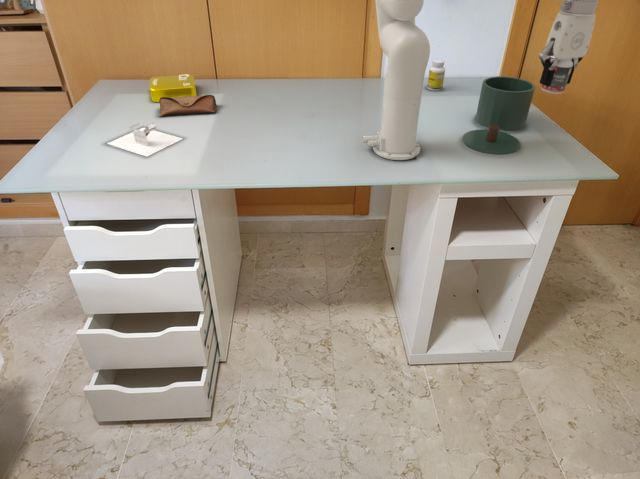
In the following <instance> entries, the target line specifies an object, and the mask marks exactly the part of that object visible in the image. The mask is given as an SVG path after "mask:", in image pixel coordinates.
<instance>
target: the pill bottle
mask: <svg viewBox="0 0 640 479" xmlns="http://www.w3.org/2000/svg"><path fill="white" fill-rule="evenodd" d="M571 60H572V59H562V60H558V62H557V64H556V66H555V67H554V69H553V70H555V73H554V76H553V79H552V82H551V85H550V86H545V85H543V84H541V86H540V89H541V90H542V91H543V92H545V93H548V94H553V95H559V94H563V93H565V90H566V87H567V85H568V84H567V81H568V78H569V76H570V73H571V70H572V67H573V62H572V61H571ZM552 61H553V59H551V61H550V62H551V63H552Z"/></svg>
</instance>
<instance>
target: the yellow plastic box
mask: <svg viewBox="0 0 640 479" xmlns="http://www.w3.org/2000/svg"><path fill="white" fill-rule="evenodd" d="M149 93H150V99H151V101H152V102H154V103H160V102H159V100H160V98H162V97H187V96H198V94H197V88H196V83H195V77H194V75H193V74H192V73H187V74H183V73H182V74H173V75H160V76H159V75H157V76H152V77H150V78H149Z"/></svg>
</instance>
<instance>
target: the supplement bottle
mask: <svg viewBox="0 0 640 479" xmlns="http://www.w3.org/2000/svg"><path fill="white" fill-rule="evenodd" d="M444 65H445V60H444V59H438V58H437V59H433V60H432V64H431V66H430V67H429V71H428V72H429V73H428V80H427V86H426V87H427V90H429V91H433V92H439V91H443V86H444V81H445V74H446V67H444Z"/></svg>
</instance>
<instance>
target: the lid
mask: <svg viewBox="0 0 640 479" xmlns="http://www.w3.org/2000/svg"><path fill="white" fill-rule="evenodd" d="M499 128H500V126H499V125H496V124H490V125H489V128H487V129H473V130H469V131H467V132H465V133H464V134H463V135H462V139H461V140H462V142H463V144H464V145H465V146H466V147H467V148H469V149H471V150H473V151H476V152H480V153H484V154H489V155H509V154H513V153H516V152H517V151H519V149H520V148H521V141H520V140H519V139H518V137H517V138H516V136H514V135H512V134H509V133H506V132H505V131H500V130H499Z"/></svg>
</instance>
